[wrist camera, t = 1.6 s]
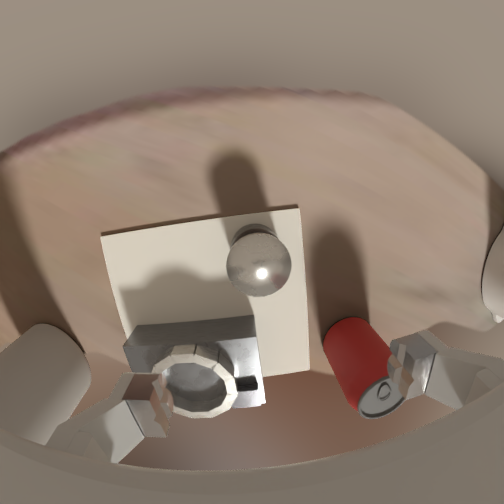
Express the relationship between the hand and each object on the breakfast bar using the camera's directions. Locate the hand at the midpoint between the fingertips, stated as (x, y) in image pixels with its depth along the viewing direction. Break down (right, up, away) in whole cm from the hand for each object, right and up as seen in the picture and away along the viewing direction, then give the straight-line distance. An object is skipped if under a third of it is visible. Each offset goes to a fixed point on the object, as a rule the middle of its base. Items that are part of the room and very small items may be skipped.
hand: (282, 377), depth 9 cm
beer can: (+11, -7, +24) cm, 27 cm away
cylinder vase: (-30, -12, +24) cm, 40 cm away
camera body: (-7, -8, +23) cm, 25 cm away
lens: (-1, +5, +20) cm, 21 cm away
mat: (-6, -2, +22) cm, 23 cm away
